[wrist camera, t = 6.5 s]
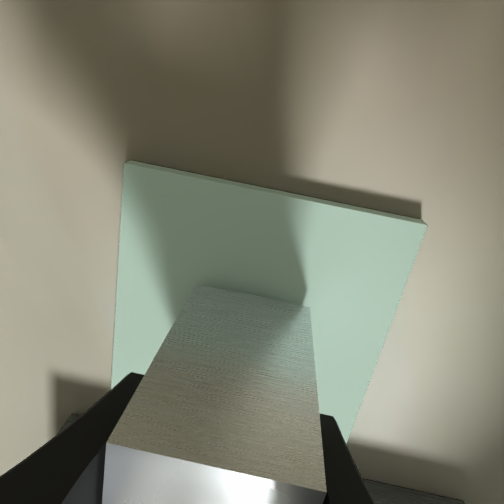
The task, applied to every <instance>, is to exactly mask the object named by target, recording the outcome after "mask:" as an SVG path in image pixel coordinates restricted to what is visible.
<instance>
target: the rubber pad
mask: <svg viewBox="0 0 504 504" xmlns="http://www.w3.org/2000/svg"><path fill="white" fill-rule="evenodd" d="M427 226H428V225H427V224H426V223H425V222H424V221H423V220H421V219H416V218H411V217H406V216H401V215H396V214H391V213H387V212H382V211H377V210H372V209H367V208H362V207H357V206H352V205H347V204H342V203H337V202H333V201H328V200H323V199H318V198H313V197H308V196H303V195H298V194H293V193H288V192H284V191H279V190H274V189H269V188H264V187H259V186H254V185H249V184H244V183H239V182H234V181H230V180H225V179H220V178H215V177H210V176H205V175H200V174H195V173H190V172H185V171H181V170H176V169H171V168H166V167H161V166H156V165H151V164H146V163H141V162H136V161H128V162H125V163H124V169H123V187H122V205H121V222H120V240H119V257H118V275H117V292H116V310H115V328H114V345H113V363H112V380H111V389H112V388H113V387H114V386H116V385H117V384H118V383H119V382H120V381H121V380H122V379H123V378H124V377H125V376H126V375H128V374H129V373H131V372H134V373H138V374H143V375H145V373H146V371H147V370H148V368H149V366H150V364H151V363H152V361H153V359H154V357H155V355H156V354H157V352H158V350H159V348H160V347H161V345H162V343H163V341H164V340H165V338H166V336H167V334H168V332H169V331H170V329H171V327H172V325H173V324H174V322H175V320H176V318H177V316H178V315H179V313H180V311H181V309H182V308H183V306H184V304H185V302H186V301H187V299H188V297H189V295H190V293H191V292H192V290H193V288H194V286H195V285H196V283H198V284H203V285H208V286H213V287H217V288H222V289H227V290H231V291H236V292H241V293H246V294H250V295H255V296H260V297H264V298H269V299H274V300H279V301H283V302H288V303H293V304H297V305H302V306H307V307H310V314H311V325H312V336H313V347H314V358H315V369H316V380H317V391H318V402H319V413H320V414H325V415H330V416H333V417H334V418H335V420H336V422H337V424H338V426H339V429H340V431H341V433H342V436H343V438H344V440H345V443H346V444H347V441H348V438H349V436H350V433H351V430H352V428H353V425H354V422H355V420H356V417H357V414H358V411H359V409H360V406H361V403H362V401H363V398H364V395H365V393H366V390H367V387H368V385H369V382H370V379H371V376H372V374H373V371H374V368H375V366H376V363H377V360H378V358H379V355H380V352H381V350H382V347H383V344H384V341H385V339H386V336H387V333H388V331H389V328H390V325H391V323H392V320H393V317H394V315H395V312H396V309H397V306H398V304H399V301H400V298H401V296H402V293H403V290H404V288H405V285H406V282H407V280H408V277H409V274H410V272H411V269H412V266H413V263H414V261H415V258H416V255H417V253H418V250H419V247H420V245H421V242H422V239H423V237H424V234H425V231H426V228H427Z"/></svg>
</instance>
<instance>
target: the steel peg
mask: <svg viewBox="0 0 504 504" xmlns="http://www.w3.org/2000/svg"><path fill="white" fill-rule="evenodd" d="M326 493H327V490H326V479H325V468H324V457H323V446H322V435H321V424H320V413H319V402H318V391H317V380H316V369H315V358H314V347H313V336H312V325H311V314H310V307H307V306H302V305H297V304H293V303H288V302H283V301H279V300H274V299H269V298H264V297H260V296H255V295H250V294H246V293H241V292H236V291H231V290H227V289H222V288H217V287H213V286H208V285H203V284H198V283H196V285H195V286H194V288H193V290H192V292H191V293H190V295H189V297H188V299H187V301H186V302H185V304H184V306H183V308H182V309H181V311H180V313H179V315H178V316H177V318H176V320H175V322H174V324H173V325H172V327H171V329H170V331H169V332H168V334H167V336H166V338H165V340H164V341H163V343H162V345H161V347H160V348H159V350H158V352H157V354H156V355H155V357H154V359H153V361H152V363H151V364H150V366H149V368H148V370H147V371H146V373H145V375H144V377H143V379H142V380H141V382H140V384H139V386H138V387H137V389H136V391H135V393H134V394H133V396H132V398H131V400H130V402H129V403H128V405H127V407H126V409H125V410H124V412H123V414H122V416H121V418H120V419H119V421H118V423H117V425H116V426H115V428H114V430H113V432H112V433H111V435H110V437H109V439H108V441H107V442H106V454H105V468H104V482H103V496H102V504H323V501H324V499H325V496H326Z"/></svg>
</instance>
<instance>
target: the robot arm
mask: <svg viewBox="0 0 504 504" xmlns="http://www.w3.org/2000/svg"><path fill="white" fill-rule="evenodd" d="M143 377H144V375H143V374H138V373H134V372H131V373H129V374H128V375H126V376H125V377H124V378H123V379H122V380H121V381H120V382H119V383H118V384H117V385H116V386H114V387H113V388H112V389H111V390H110V391H109V392H108V393H107V394H106V395H104V396H103V397H102V398H101V399H100V400H99V401H98V402H96V403H95V404H94V405H93V406H92V407H91V408H90V409H88V410H87V411H86V412H85V413H84V414H82V415H81V416H80V417H79V418H77V419H76V420H75V421H74V422H73V423H71V424H70V425H69V426H68V427H67V428H65V429H64V430H63V431H62V432H60V433H59V434H58V435H56V436H55V437H54V438H52V439H51V440H50V441H48V442H47V443H46V444H44V445H43V446H42V447H40V448H39V449H38V450H36V451H35V452H34V453H32V454H31V455H30V456H28V457H27V458H26V459H24V460H23V461H22V462H20V463H19V464H17V465H16V466H15V467H13V468H12V469H10V470H9V471H7V472H6V473H4V474H3V475H2V476H0V504H102V496H103V482H104V468H105V454H106V442H107V441H108V439H109V437H110V435H111V433H112V432H113V430H114V428H115V426H116V425H117V423H118V421H119V419H120V418H121V416H122V414H123V412H124V410H125V409H126V407H127V405H128V403H129V402H130V400H131V398H132V396H133V394H134V393H135V391H136V389H137V387H138V386H139V384H140V382H141V380H142V379H143ZM320 424H321V435H322V446H323V457H324V468H325V479H326V490H327V493H326V496H325V499H324V501H323V504H375V503H374V501H373V499H372V497H371V495H370V493H369V491H368V489H367V487H366V485H365V483H364V481H363V479H362V477H361V475H360V473H359V471H358V469H357V467H356V465H355V463H354V460H353V458H352V456H351V454H350V452H349V449H348V447H347V445H346V443H345V440H344V438H343V436H342V433H341V431H340V429H339V426H338V424H337V422H336V420H335V418H334V417H333V416H330V415H325V414H320Z"/></svg>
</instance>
